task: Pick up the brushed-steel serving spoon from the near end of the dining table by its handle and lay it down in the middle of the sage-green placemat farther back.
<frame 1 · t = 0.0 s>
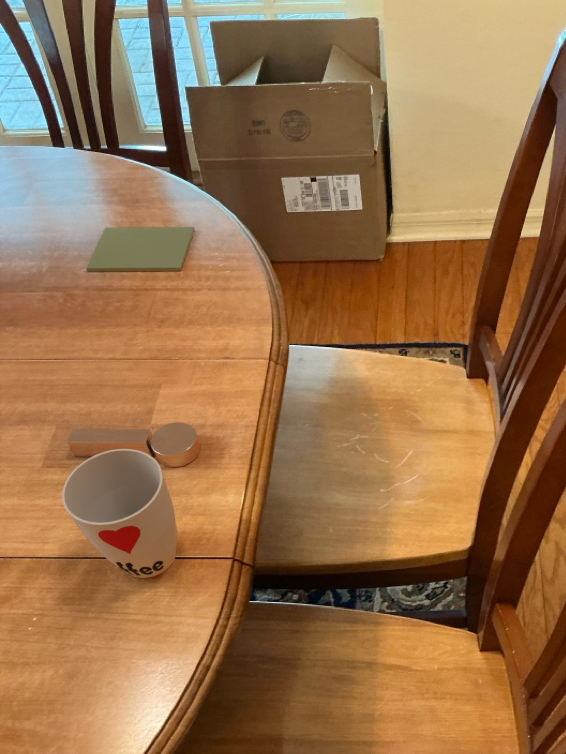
placemat: (142, 250, 99), on the table
spoon: (139, 450, 79), on the table
cup: (149, 556, 71), on the table
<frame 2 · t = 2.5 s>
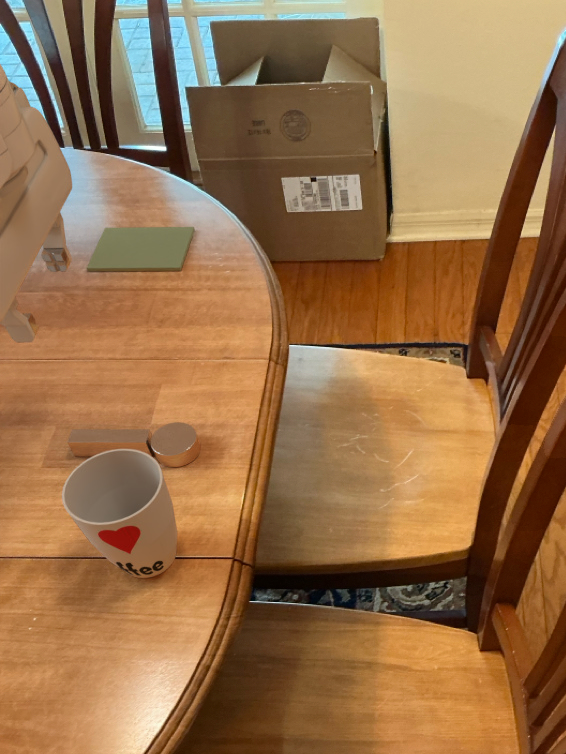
hand: (45, 300, 65), 18 cm above the table, tool pointing down, fingers open, 8 cm apart
nothing on the table moved.
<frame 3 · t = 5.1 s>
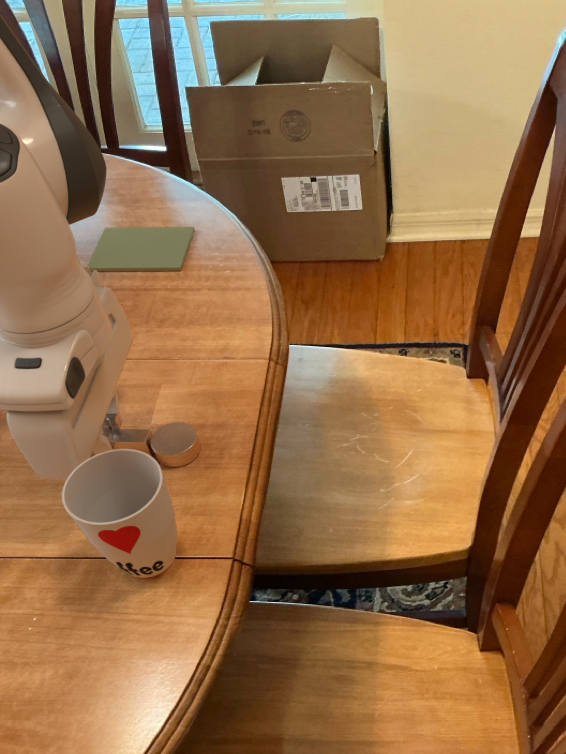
hand: (110, 438, 77), 2 cm above the table, tool pointing down, fingers closed on spoon, 2 cm apart
spoon: (139, 450, 79), on the table, touching gripper
everything else where it was.
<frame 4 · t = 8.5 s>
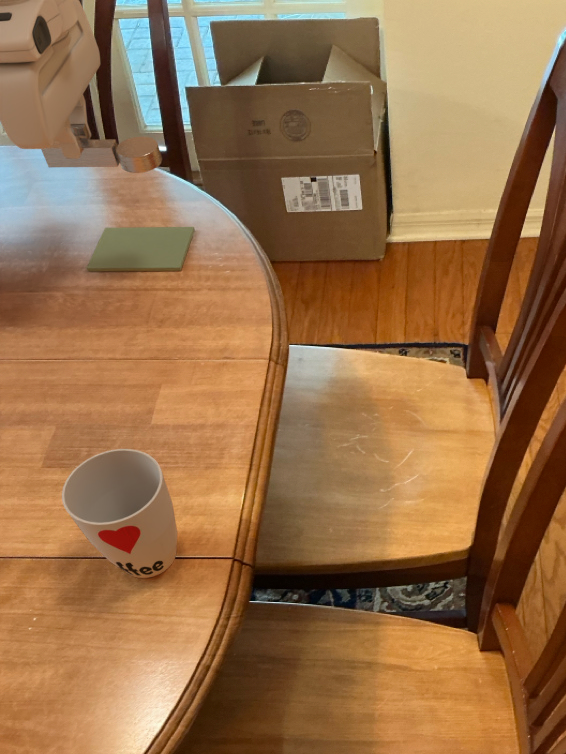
hand: (79, 148, 86), 15 cm above the table, tool pointing down, fingers closed on spoon
spoon: (107, 162, 87), point 13 cm above the table, touching gripper
everything else where it was.
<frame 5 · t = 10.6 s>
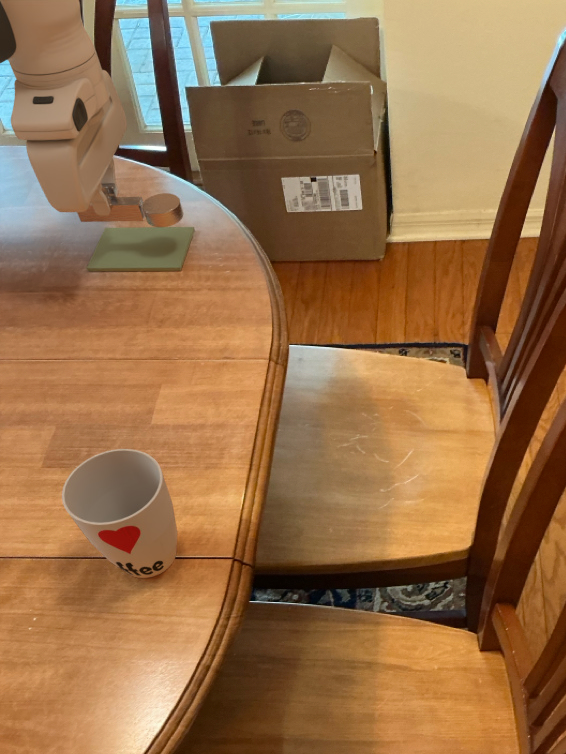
hand: (108, 205, 95), 6 cm above the table, tool pointing down, fingers closed on spoon
spoon: (133, 217, 96), point 5 cm above the table, touching gripper
everything else where it was.
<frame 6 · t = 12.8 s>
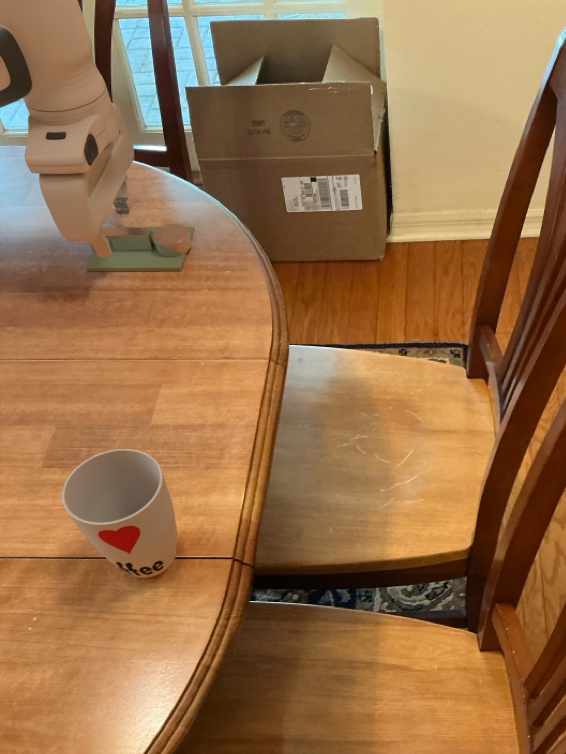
hand: (116, 232, 97), 3 cm above the table, tool pointing down, fingers open, 8 cm apart
spoon: (143, 246, 99), resting on placemat
everything else where it was.
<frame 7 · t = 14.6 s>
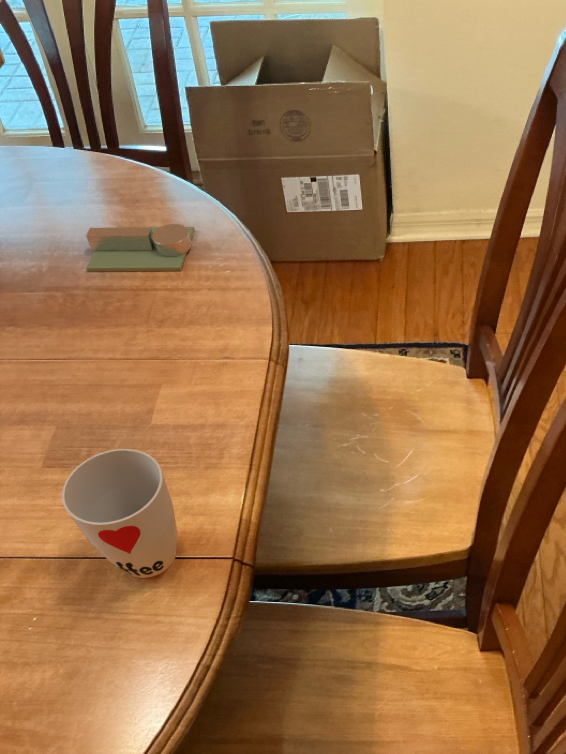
nothing on the table moved.
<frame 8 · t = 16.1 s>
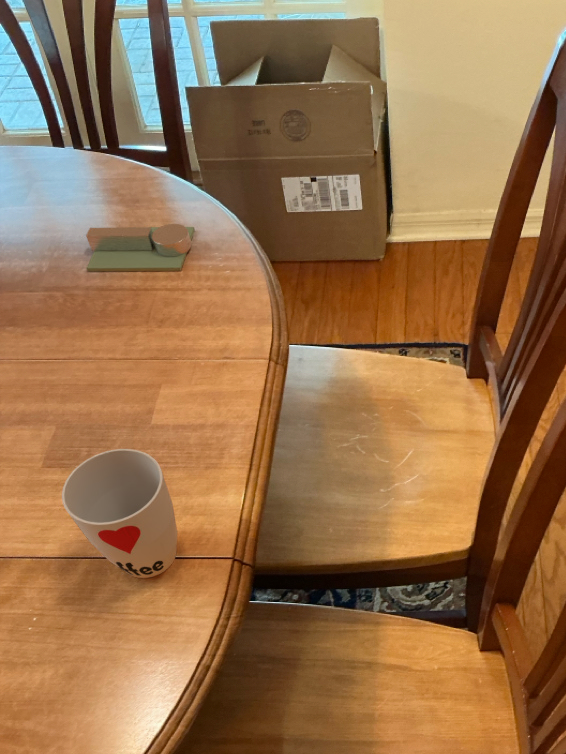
nothing on the table moved.
at the end: spoon inside the target area on the placemat (0.2 cm from its centre), point 0.5 cm above the placemat's base; spoon touching placemat; the gripper is holding nothing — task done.
